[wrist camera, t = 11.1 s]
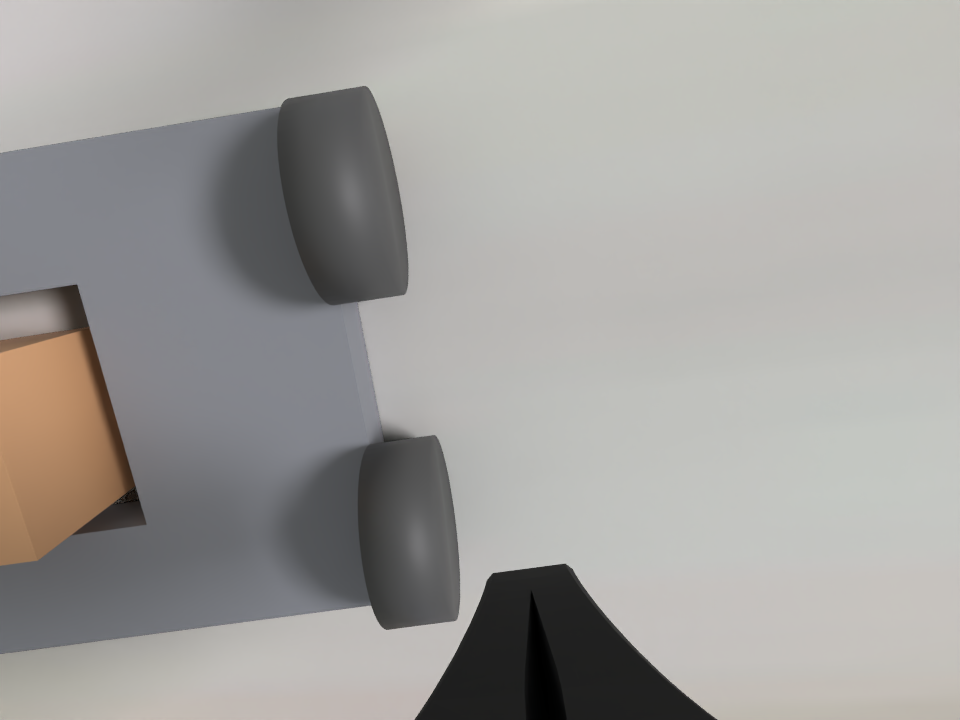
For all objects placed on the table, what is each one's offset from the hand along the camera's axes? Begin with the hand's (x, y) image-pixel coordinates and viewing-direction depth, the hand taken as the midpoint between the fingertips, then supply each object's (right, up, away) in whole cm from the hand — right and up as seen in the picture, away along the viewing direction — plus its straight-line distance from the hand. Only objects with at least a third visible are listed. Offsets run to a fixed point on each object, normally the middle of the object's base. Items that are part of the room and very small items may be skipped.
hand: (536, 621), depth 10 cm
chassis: (-14, +3, +9) cm, 17 cm away
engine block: (-14, +3, +9) cm, 17 cm away
